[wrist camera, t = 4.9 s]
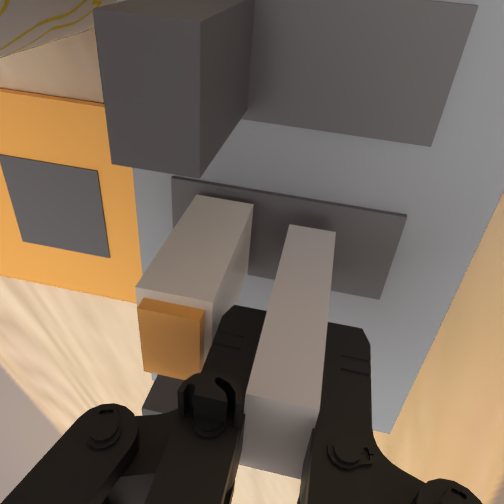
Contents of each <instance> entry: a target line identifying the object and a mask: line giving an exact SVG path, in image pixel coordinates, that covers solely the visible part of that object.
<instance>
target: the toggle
mask: <svg viewBox="0 0 504 504" xmlns="http://www.w3.org/2000/svg"><path fill="white" fill-rule="evenodd" d="M253 206H254V204H249V203H244V202H238V201H232V200H226V199H220V198H214V197H208V196H202V195H197V194H196V196H195V197H194V199H193V200H192V202H191V203H190V205H189V206H188V208H187V209H186V211H185V212H184V214H183V215H182V217H181V218H180V220H179V221H178V223H177V224H176V226H175V227H174V229H173V230H172V232H171V233H170V235H169V236H168V238H167V239H166V241H165V242H164V244H163V246H162V247H161V249H160V250H159V252H158V253H157V255H156V256H155V258H154V259H153V261H152V262H151V264H150V265H149V267H148V268H147V270H146V271H145V273H144V274H143V276H142V277H141V279H140V280H139V282H138V283H137V285H136V286H135V290H136V300H137V312H138V321H139V331H140V340H141V349H142V358H143V367H144V371H146V372H150V373H155V374H159V375H164V376H168V377H172V378H177V379H181V380H186V379H188V378H189V377H190V376H192V375H193V374H196V373H200V372H201V371H202V368H203V366H204V363H205V360H206V358H207V355H208V352H209V350H210V347H211V346H212V342H213V339H214V336H215V334H216V332H217V328H218V326H219V323H220V320H221V318H222V316H223V315H224V314H225V313H226V312H227V311H228V310H229V309H230V308H231V307H232V306H233V305H237V302H238V299H239V296H240V293H241V291H242V288H243V285H244V282H245V279H246V276H247V272H248V261H249V250H250V239H251V228H252V217H253Z"/></svg>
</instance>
